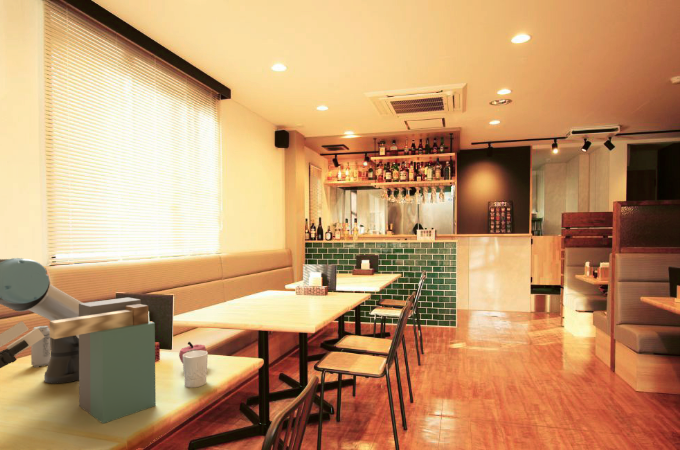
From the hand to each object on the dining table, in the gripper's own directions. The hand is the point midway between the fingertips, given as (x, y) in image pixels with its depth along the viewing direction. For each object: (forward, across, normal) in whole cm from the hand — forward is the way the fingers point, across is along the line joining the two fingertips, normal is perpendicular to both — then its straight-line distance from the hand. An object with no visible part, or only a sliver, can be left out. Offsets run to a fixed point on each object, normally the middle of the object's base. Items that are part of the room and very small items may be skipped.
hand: (33, 328), depth 99 cm
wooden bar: (+12, 0, -10) cm, 16 cm away
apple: (+32, -17, -50) cm, 61 cm away
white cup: (+25, -2, -46) cm, 52 cm away
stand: (+5, -5, -34) cm, 35 cm away
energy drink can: (+3, -71, -33) cm, 79 cm away
